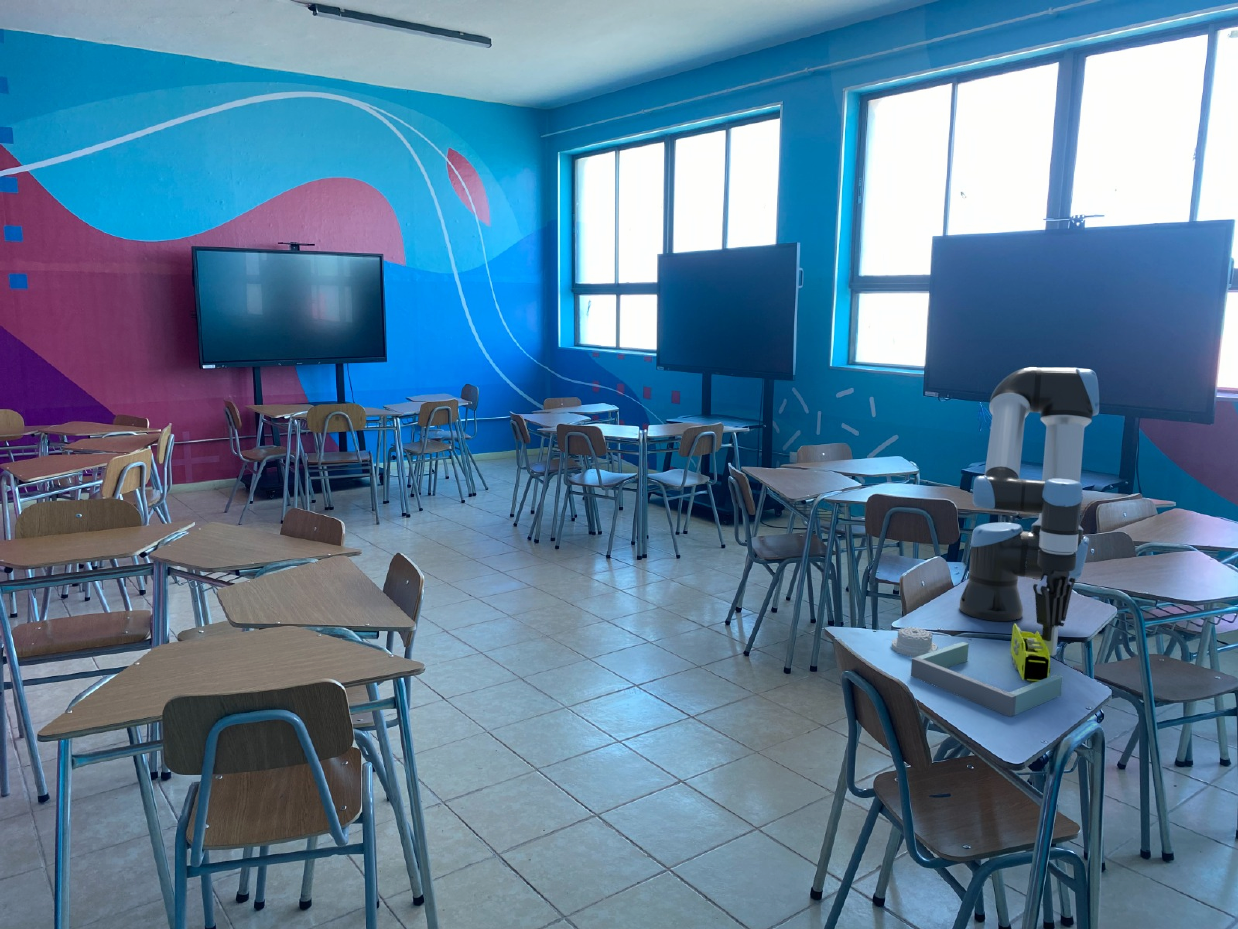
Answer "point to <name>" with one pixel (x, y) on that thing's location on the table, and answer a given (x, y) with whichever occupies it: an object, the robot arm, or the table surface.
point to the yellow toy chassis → (1030, 655)
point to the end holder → (1009, 704)
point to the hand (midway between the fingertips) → (1048, 653)
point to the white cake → (913, 642)
